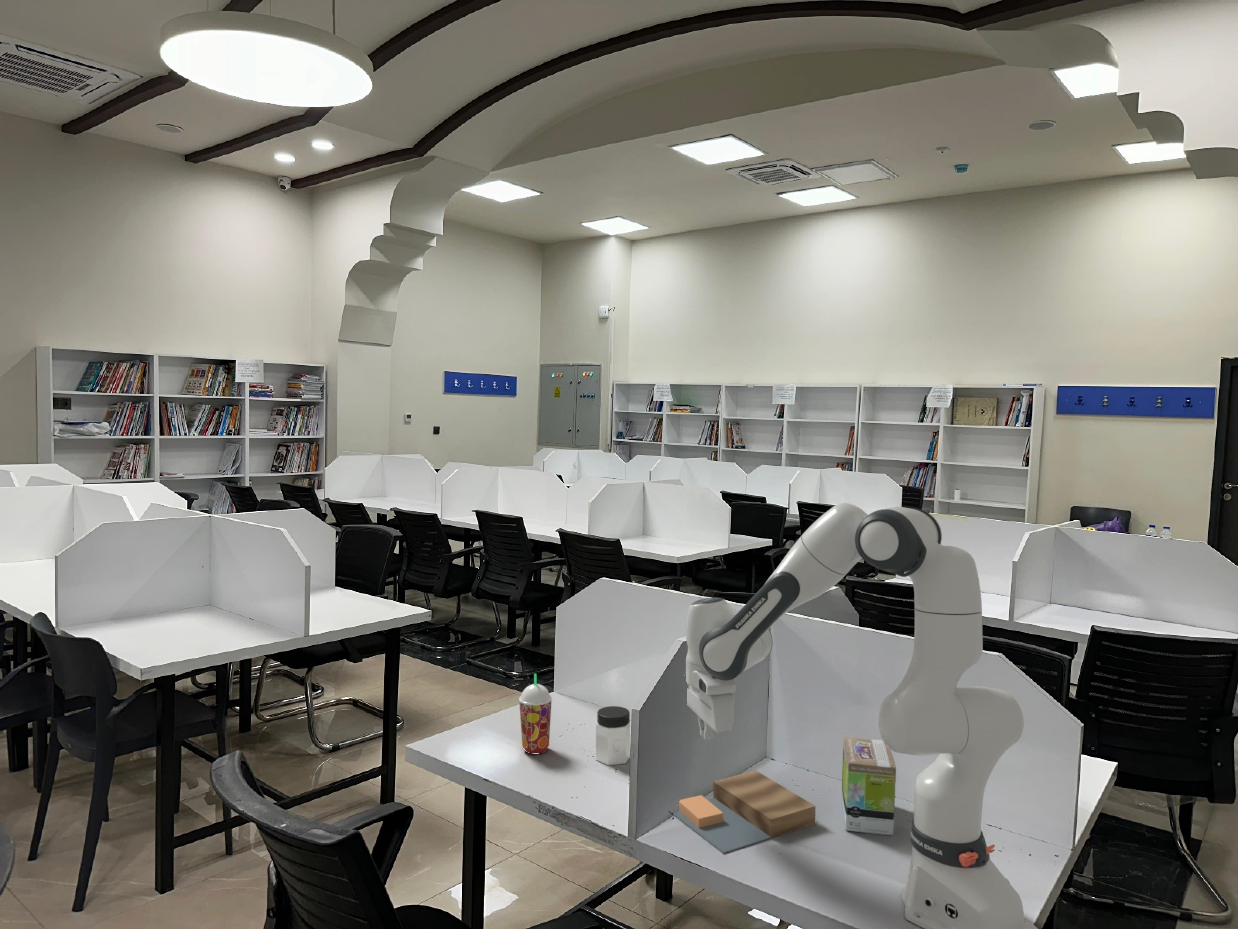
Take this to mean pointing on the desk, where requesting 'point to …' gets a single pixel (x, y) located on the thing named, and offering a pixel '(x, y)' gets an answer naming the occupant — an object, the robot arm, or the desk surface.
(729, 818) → the mat
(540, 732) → the smoothie
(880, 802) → the tea box
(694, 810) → the orange rectangular block
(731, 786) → the board
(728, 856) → the desk surface
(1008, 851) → the desk surface
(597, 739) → the jar
